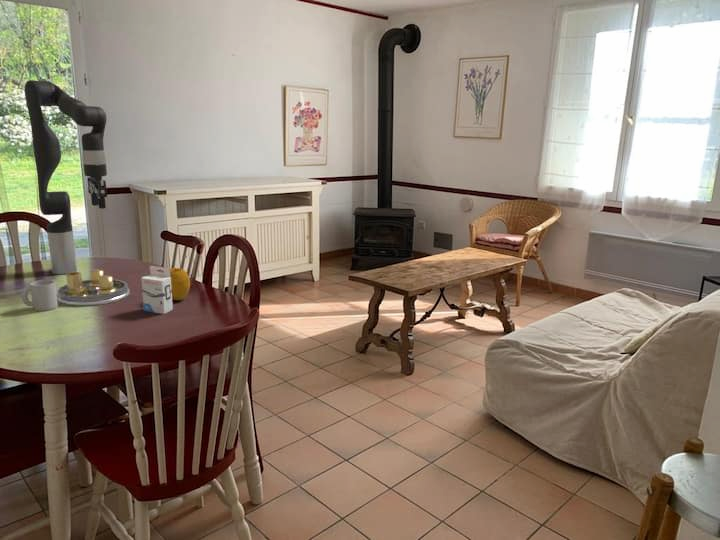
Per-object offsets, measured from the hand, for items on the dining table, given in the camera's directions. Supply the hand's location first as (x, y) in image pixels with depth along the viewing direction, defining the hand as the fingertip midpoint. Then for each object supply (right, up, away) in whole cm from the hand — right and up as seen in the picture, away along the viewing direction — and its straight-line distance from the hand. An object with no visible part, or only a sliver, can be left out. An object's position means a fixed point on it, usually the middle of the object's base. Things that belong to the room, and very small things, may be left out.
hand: (98, 206), depth 205 cm
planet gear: (-3, -33, -11) cm, 35 cm away
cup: (-9, -37, -21) cm, 44 cm away
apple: (+32, -34, -8) cm, 48 cm away
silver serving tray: (+2, -33, -7) cm, 34 cm away
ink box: (+30, -37, -20) cm, 52 cm away
